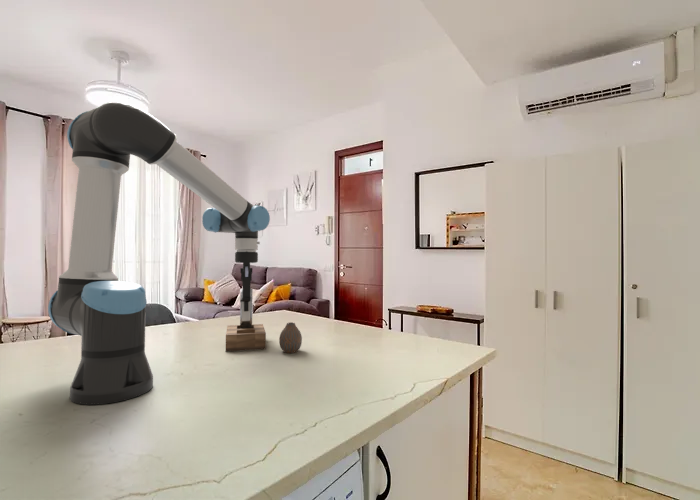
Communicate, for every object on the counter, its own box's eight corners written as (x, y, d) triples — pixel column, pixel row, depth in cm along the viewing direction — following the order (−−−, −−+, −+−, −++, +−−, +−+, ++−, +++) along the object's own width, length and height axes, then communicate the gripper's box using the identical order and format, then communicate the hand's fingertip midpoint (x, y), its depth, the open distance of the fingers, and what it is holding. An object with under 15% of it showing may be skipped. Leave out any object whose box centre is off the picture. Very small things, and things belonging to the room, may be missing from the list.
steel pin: (252, 330, 127) (252, 289, 127) (239, 331, 126) (240, 289, 126) (251, 328, 131) (252, 288, 131) (239, 329, 130) (240, 288, 130)
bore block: (265, 349, 119) (265, 333, 119) (225, 351, 115) (225, 335, 115) (262, 338, 134) (262, 324, 134) (227, 339, 130) (227, 325, 131)
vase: (299, 354, 113) (300, 325, 113) (277, 354, 113) (277, 324, 113) (303, 348, 120) (303, 321, 120) (281, 348, 120) (281, 320, 120)
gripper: (259, 251, 122) (258, 323, 121) (256, 251, 138) (256, 315, 138) (234, 251, 119) (234, 324, 119) (235, 251, 136) (234, 315, 136)
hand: (245, 319), depth 129 cm, fingers closed on steel pin, 4 cm apart
